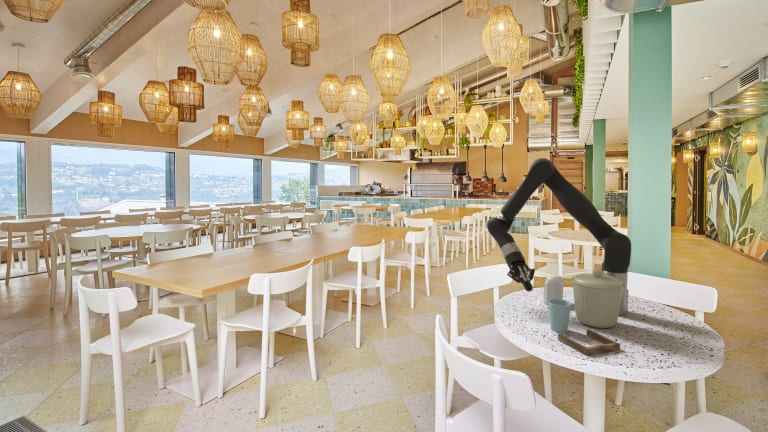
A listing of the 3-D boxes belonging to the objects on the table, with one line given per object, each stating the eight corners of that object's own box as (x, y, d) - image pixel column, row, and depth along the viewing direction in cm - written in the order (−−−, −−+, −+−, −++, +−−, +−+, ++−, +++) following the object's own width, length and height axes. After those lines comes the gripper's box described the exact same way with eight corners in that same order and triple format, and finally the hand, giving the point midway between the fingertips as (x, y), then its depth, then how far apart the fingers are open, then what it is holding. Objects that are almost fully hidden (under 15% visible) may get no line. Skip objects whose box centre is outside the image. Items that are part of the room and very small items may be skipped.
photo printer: (555, 299, 170) (556, 272, 169) (564, 301, 167) (565, 274, 165) (542, 303, 164) (542, 276, 163) (550, 306, 161) (551, 278, 160)
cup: (575, 330, 134) (575, 302, 133) (563, 335, 130) (564, 307, 129) (555, 324, 140) (555, 297, 139) (543, 329, 136) (544, 301, 135)
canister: (619, 337, 128) (622, 277, 126) (563, 324, 140) (565, 270, 138) (627, 321, 142) (630, 268, 140) (576, 311, 154) (577, 261, 152)
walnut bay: (589, 334, 130) (589, 329, 130) (619, 349, 119) (620, 343, 118) (557, 339, 127) (557, 334, 126) (586, 355, 115) (586, 349, 115)
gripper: (503, 251, 156) (520, 287, 145) (529, 249, 160) (548, 284, 149) (495, 261, 161) (512, 296, 151) (521, 259, 165) (539, 293, 154)
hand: (530, 290), depth 150 cm, fingers closed
